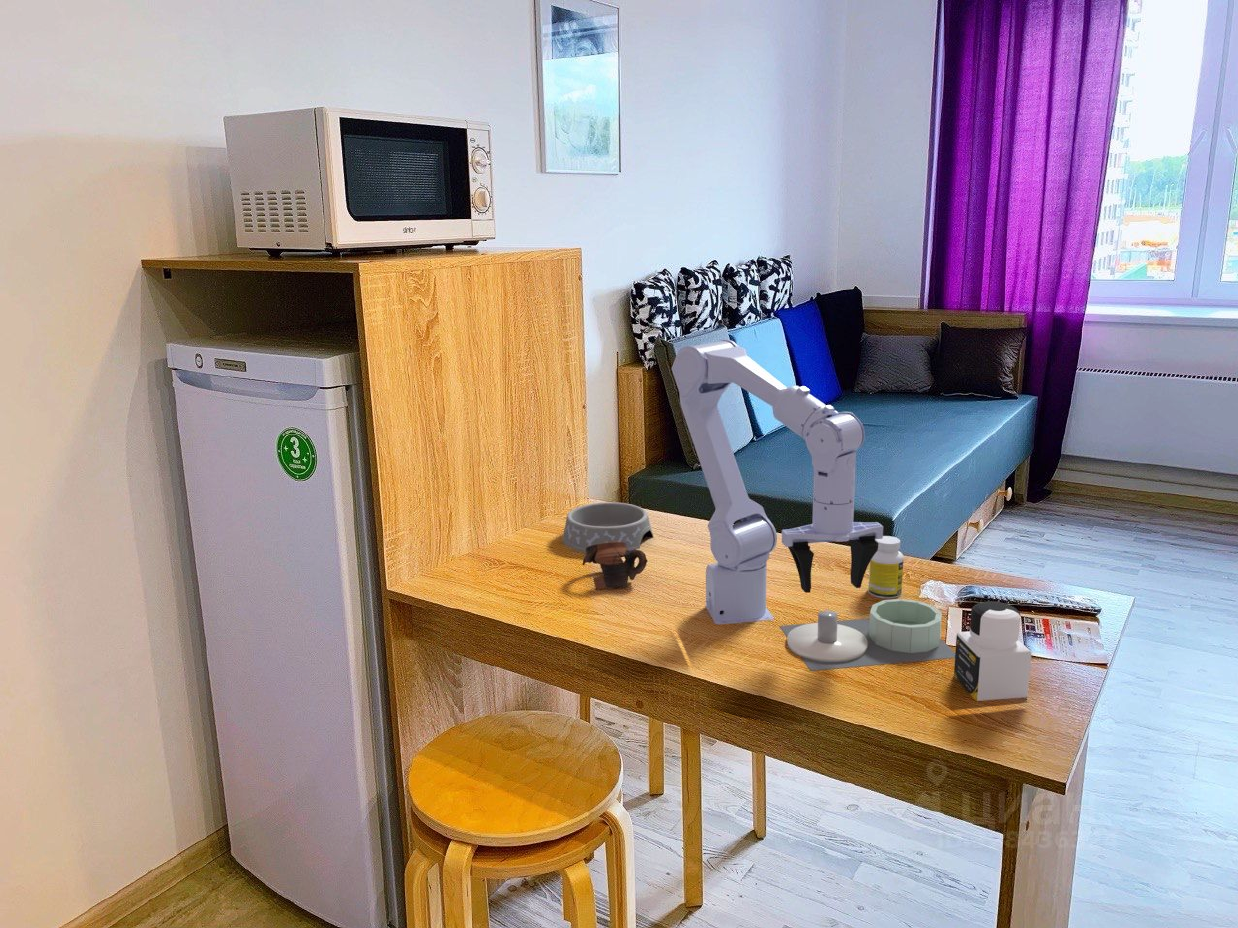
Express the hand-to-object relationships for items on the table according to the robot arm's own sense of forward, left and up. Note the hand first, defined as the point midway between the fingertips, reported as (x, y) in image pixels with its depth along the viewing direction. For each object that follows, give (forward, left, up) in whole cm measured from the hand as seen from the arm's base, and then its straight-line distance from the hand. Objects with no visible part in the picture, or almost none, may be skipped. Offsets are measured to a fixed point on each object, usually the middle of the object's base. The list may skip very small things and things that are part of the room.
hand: (830, 587), depth 140 cm
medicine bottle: (+17, -16, -10) cm, 25 cm away
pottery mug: (-28, +32, -10) cm, 44 cm away
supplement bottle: (+16, +17, -10) cm, 25 cm away
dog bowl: (-26, +55, -10) cm, 62 cm away
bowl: (+12, 0, -9) cm, 15 cm away
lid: (0, 0, -9) cm, 9 cm away
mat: (+6, 0, -9) cm, 11 cm away
